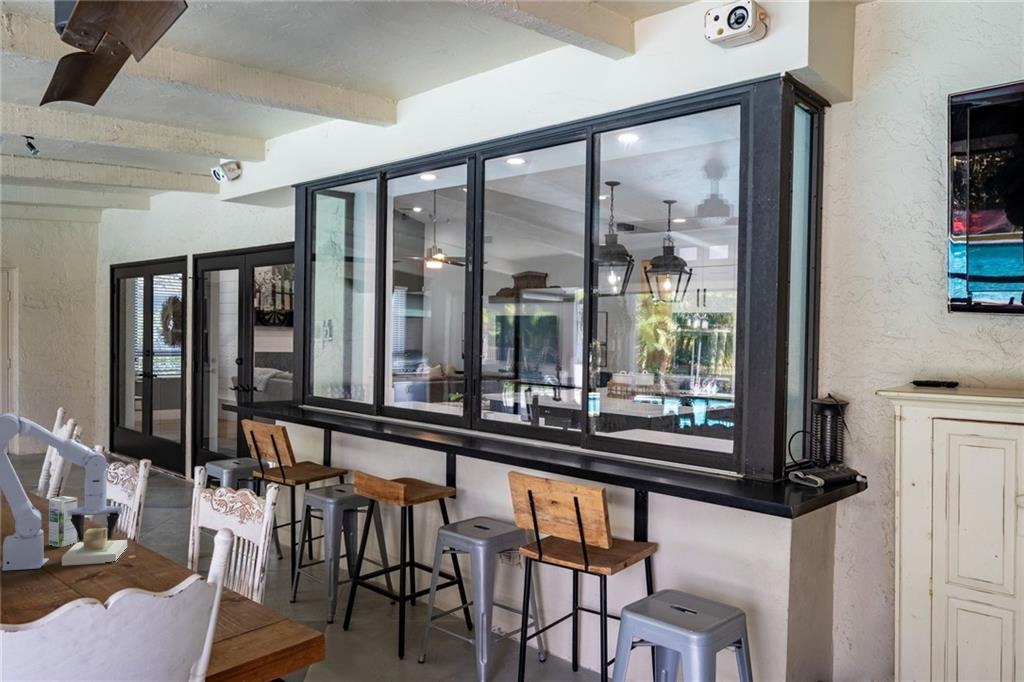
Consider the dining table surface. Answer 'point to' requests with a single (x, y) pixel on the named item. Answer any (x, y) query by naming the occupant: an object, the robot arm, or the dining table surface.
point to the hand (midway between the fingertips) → (95, 538)
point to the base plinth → (94, 553)
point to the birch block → (95, 539)
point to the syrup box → (61, 521)
